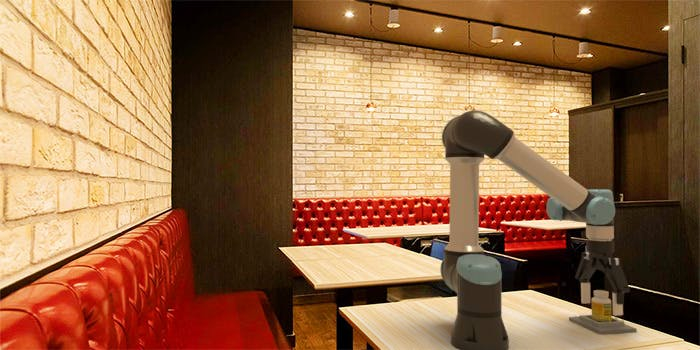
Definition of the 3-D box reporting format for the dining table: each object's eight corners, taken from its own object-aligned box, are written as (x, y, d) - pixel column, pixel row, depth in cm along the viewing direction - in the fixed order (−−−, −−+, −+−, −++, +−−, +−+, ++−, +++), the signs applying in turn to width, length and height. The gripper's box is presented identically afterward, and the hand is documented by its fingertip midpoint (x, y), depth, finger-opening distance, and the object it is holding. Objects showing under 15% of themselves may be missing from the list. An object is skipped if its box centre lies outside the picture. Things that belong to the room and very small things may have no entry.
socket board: (600, 334, 131) (600, 326, 131) (569, 320, 145) (568, 313, 145) (636, 332, 134) (636, 324, 134) (602, 318, 147) (602, 311, 147)
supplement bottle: (597, 319, 143) (597, 288, 143) (615, 323, 139) (614, 291, 139) (588, 322, 140) (587, 290, 140) (605, 326, 136) (605, 294, 136)
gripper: (643, 244, 128) (644, 319, 128) (583, 234, 153) (584, 298, 152) (620, 244, 127) (621, 321, 127) (563, 235, 152) (564, 299, 151)
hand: (601, 308), depth 140 cm, fingers open, 13 cm apart
